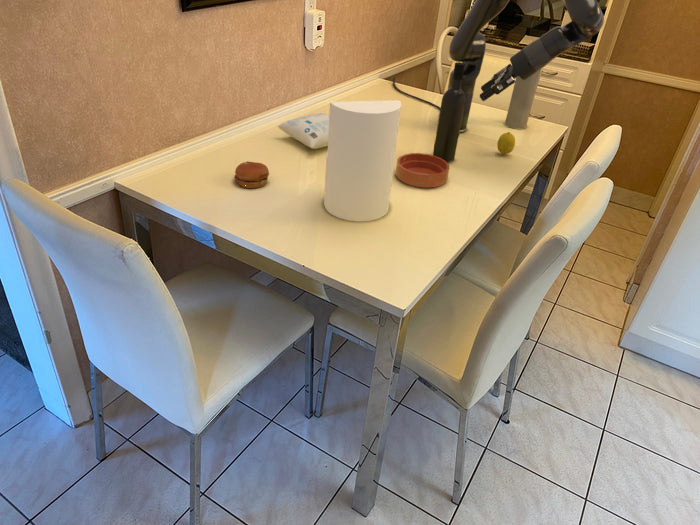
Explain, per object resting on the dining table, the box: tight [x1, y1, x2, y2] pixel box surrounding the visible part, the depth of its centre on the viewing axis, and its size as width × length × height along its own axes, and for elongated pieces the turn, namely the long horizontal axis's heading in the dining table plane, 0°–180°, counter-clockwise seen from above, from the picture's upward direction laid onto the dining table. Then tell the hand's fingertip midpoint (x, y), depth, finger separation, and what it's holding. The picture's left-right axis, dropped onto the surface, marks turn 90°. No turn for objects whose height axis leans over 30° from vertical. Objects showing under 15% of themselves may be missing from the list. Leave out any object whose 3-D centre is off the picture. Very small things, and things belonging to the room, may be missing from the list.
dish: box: [395, 152, 450, 188], centre depth 155 cm, size 15×15×4 cm
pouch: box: [276, 112, 329, 150], centre depth 172 cm, size 8×19×20 cm
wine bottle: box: [432, 61, 465, 164], centre depth 161 cm, size 6×6×30 cm
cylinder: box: [323, 99, 402, 223], centre depth 132 cm, size 17×17×28 cm
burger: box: [234, 161, 270, 189], centre depth 146 cm, size 10×9×5 cm
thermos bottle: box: [504, 69, 542, 130], centre depth 193 cm, size 8×8×28 cm
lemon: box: [496, 131, 516, 156], centre depth 173 cm, size 6×6×8 cm
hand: (481, 94), depth 155 cm, fingers open, 8 cm apart
